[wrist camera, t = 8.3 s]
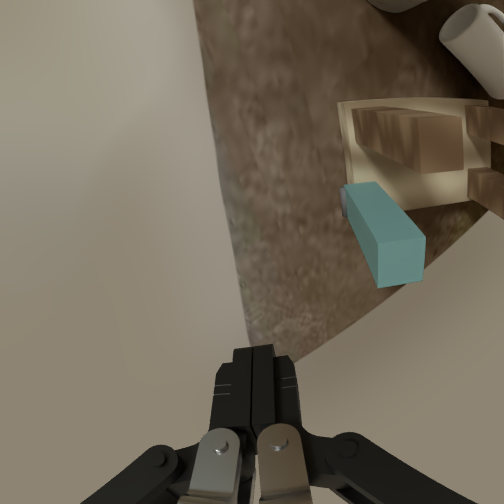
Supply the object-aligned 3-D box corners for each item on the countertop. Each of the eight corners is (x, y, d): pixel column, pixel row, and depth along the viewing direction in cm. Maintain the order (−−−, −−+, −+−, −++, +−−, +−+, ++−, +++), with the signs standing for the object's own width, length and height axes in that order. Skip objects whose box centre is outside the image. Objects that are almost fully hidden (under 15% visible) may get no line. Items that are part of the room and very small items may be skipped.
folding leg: (338, 184, 32) (370, 244, 20) (374, 180, 31) (425, 236, 19) (341, 215, 34) (371, 289, 21) (376, 211, 33) (422, 280, 21)
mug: (480, 97, 29) (518, 103, 22) (429, 45, 26) (465, 38, 19) (507, 43, 24) (543, 42, 17) (461, -7, 22) (495, -19, 15)
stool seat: (336, 102, 31) (405, 107, 15) (474, 98, 29) (574, 118, 13) (350, 209, 37) (408, 290, 21) (477, 190, 35) (561, 246, 19)
